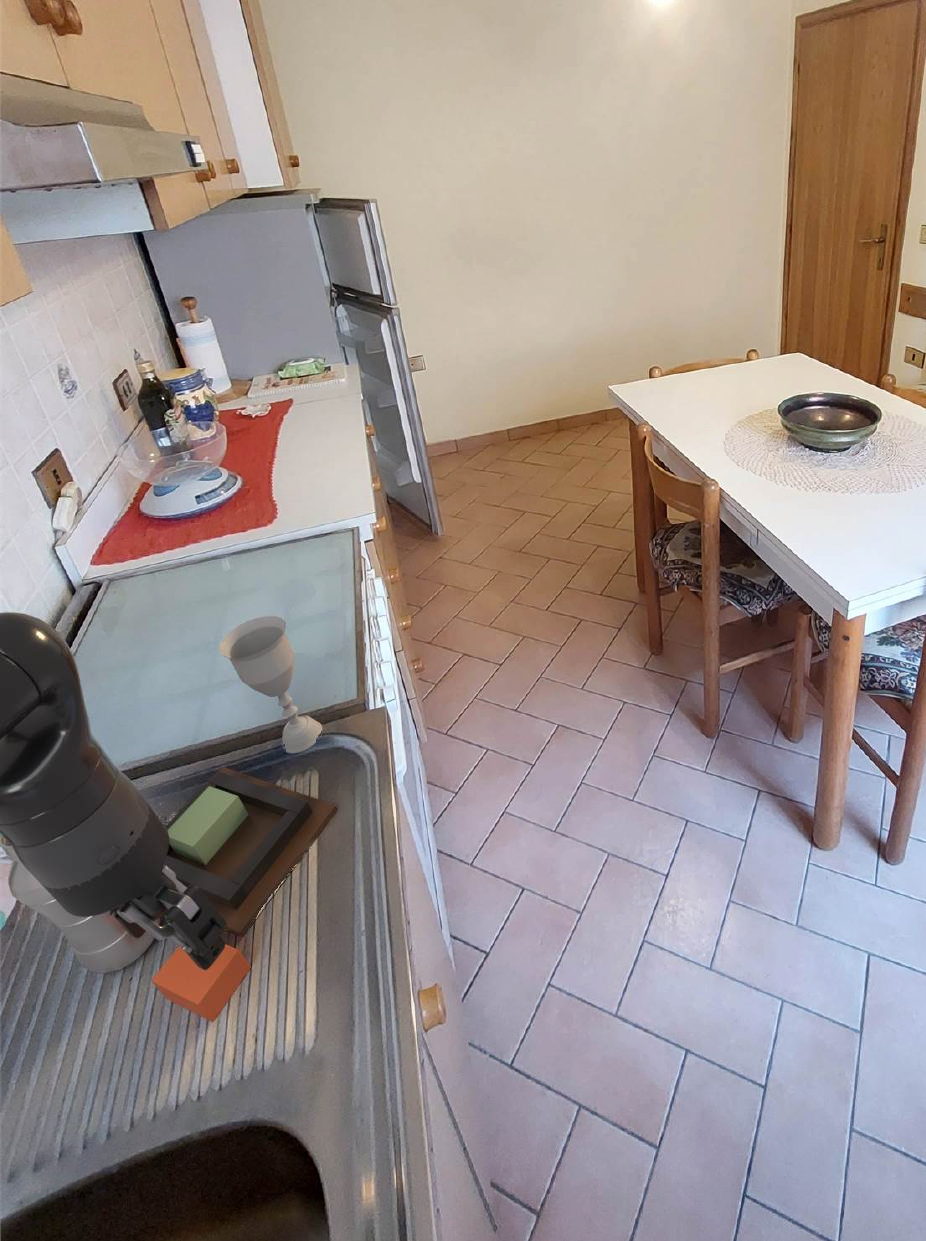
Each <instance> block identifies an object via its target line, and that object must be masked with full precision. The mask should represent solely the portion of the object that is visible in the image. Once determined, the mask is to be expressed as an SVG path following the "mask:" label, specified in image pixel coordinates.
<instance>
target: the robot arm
mask: <svg viewBox="0 0 926 1241" xmlns="http://www.w3.org/2000/svg"><path fill="white" fill-rule="evenodd" d="M103 748H104V747H102V746H101V744H100V743H99V741H98V740H97V739H96V738H95V736H94V735H93V733H92V729H91V724H90V720H89V714H88V710H87V706H86V702H85V698H84V693H83V687H82V682H81V677H80V672H79V669H78V665H77V663H76V658H75V656H74V654H73V652H72V650H71V648H70V646H69V644H68V643H67V641H66V640H65V639H64V637H63V636H62V635H61V634H60V632H58V630H56V629H55V628H54V627H53V626H52V625H50V624H49V623H47V622H45V621H44V620H42V619H40V618H39V617H36V616H33V615H30V614H27V613H23V612H15V611H4V612H0V834H1V835H3V836H4V837H5V838H6V839H7V840H8V842H9V843H10V845H11V846H12V848H13V849H14V851H15V853H16V855H17V857H18V859H19V860H20V862H21V863H22V864H23V865H24V867H25V868H26V869H27V870H28V871H29V872H30V873H31V874H32V875H33V876H34V877H35V878H36V879H37V880H38V882H39V883H40V884H41V885H42V886H43V887H44V888H45V889H46V890H47V891H48V892H49V893H50V894H51V895H52V896H53V897H54V898H55V899H56V900H57V902H58V903H59V904H60V905H61V906H62V907H63V908H64V909H65V910H66V911H67V912H68V913H70V914H72V915H74V916H79V917H90V916H96V915H100V914H103V913H104V914H105V915H106V916H108V917H110V916H111V917H115V918H116V919H117V921H118V922H119V923H120V924H121V925H122V926H123V927H124V929H125V930H126V931H127V932H128V933H129V934H130V935H131V936H133V937H135V938H140V937H141V936H142V935H143V934H144V933H145V932H146V931H147V932H148V933H150V934H151V935H152V936H153V937H155V938H154V939H156V940H157V941H162V940H167V939H170V940H171V941H172V942H173V943H174V944H176V945H177V946H178V947H179V946H180V947H181V950H182V951H184V952H186V953H187V954H188V955H189V956H190V958H191V959H192V960H193V961H194V962H195V964H196V965H197V966H198V967H199V968H201V969H203V970H207V969H209V968H210V967H211V966H212V964H213V963H214V962H215V960H216V959H217V958H218V956H219V955H220V954H221V952H222V951H223V950H224V948H225V944H226V942H225V940H224V939H223V937H222V936H221V935H220V934H222V932H223V931H224V928H225V927H226V925H227V923H226V922H225V919H224V918H222V917H221V915H220V914H219V913H218V911H217V910H216V909H215V908H214V906H213V905H212V904H211V903H210V901H209V900H208V899H207V898H206V896H205V895H204V894H203V893H202V891H201V890H200V888H199V887H198V886H197V885H195V886H194V885H192V884H190V885H189V886H188V888H187V887H185V886H184V885H183V884H182V883H180V882H179V881H178V880H177V879H176V874H175V873H174V872H173V871H172V870H171V869H169V868H168V867H167V866H165V865H164V861H165V858H166V855H167V852H168V848H169V834H168V831H167V829H166V828H165V826H166V825H164V824H163V822H162V821H161V819H160V818H159V816H157V814H156V813H155V811H154V810H153V809H152V806H150V804H149V803H148V802H147V800H146V799H145V797H144V796H143V795H142V793H141V792H140V790H139V789H138V787H137V786H136V785H135V784H134V782H133V781H132V780H131V779H130V778H129V776H127V775H126V774H124V772H122V770H120V769H119V768H118V767H117V766H116V765H115V764H114V762H113V761H112V759H111V757H109V755H108V754H107V752H106V751H105V749H103ZM115 914H116V915H115ZM162 916H163V917H164V919H165V923H164V924H163V925H162V926H160V925H157V924H156V923H155V922H154V921H155V920H157V919H159V918H160V917H162ZM160 919H161V918H160Z"/></svg>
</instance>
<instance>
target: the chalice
mask: <svg viewBox="0 0 926 1241" xmlns="http://www.w3.org/2000/svg"><path fill="white" fill-rule="evenodd" d="M286 628H287V625H286V621H285V619H283V618H282V617H279V616H277V615H265V616H264V615H263V616H259V617H256V618H253V619H250V620H247V621H245V622H243V623H241V624H239V625H237V626H235V627H234V628H233V629H232V630H230V631H229V632H228V633H227V634H226V635H225V636H224V637H223V638H222V640H221V641H220V644H219V646H218V647H219V653H220V654H221V656H223V657H224V658H227V659H229V661H230V662H231V664H232V666H233V668H234V670H235V672H236V673H237V675H238V678H239V680H241V682H242V683H243V684H244V685H246V686H248V687H249V688H250V689H252V690H254V691H256V692H258V693H261V694H262V695H265V696H267V697H269V698H277V699H278V702H277V705H278V707H282V708H283V711H282V714H281V716H282V717H283V718H287V719H288V720H289V721H288V722H287V723H286V724H285V725H284V728H283V730H282V736H281V739H282V741H283V744H285V748H286V753H288V754H297V753H302V752H304V751H306V750H308V749H309V748H311V747H312V746H314V745H315V744H316V743H317V742H316V738H317V737H318V735H319V734H320V733H321V731H322V732H323V725H322V724H321V723H320V722H319V721H317V720H315V719H314V718H312V717H311V716H309V715H297V711H298V706H296V705H292V701H293V697H292V696H289V695H288V694H287V693H286V692H288V690H289V689H290V688H291V686H292V680H293V677H294V676H293V675H294V672H295V652H294V650H293V648H292V646H291V643H290V642H289V639H288V637H287V635H286V633H285V632H286ZM282 741H281V742H282Z"/></svg>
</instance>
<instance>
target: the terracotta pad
mask: <svg viewBox="0 0 926 1241" xmlns="http://www.w3.org/2000/svg"><path fill="white" fill-rule="evenodd" d="M250 968H251V969H252V967H251V966H250V964H249V963H248V961H247V960H246V959H245V957H244V956H243V955H242V953H241V952H240V951H239V949H237V948H235V947H233V946H230V945H229V944H227V943H225V948H224V950H223V951H222V952H221V954H220V955H219V956H218V958H217V959H216V960H215V962H214V963H213V964H212V966H211V967H210V968H209V969H207V970H203V969H201V968H199V967H198V966H197V965H196V964H195V962H194V961H193V960H192V959H191V958H190V956H189V955H188V954H187V953H186V952H184V951H182V950H181V947H180V946H179V945H178V947H177V948H176V949H175V950H174V952H173V953H172V954H171V955H170V956H169V957H168V958H167V960H166V962H165V963H164V964H163V965H162V966H161V968H160V969H159V970H158V971H157V973H156V974H155V975H154V976H153V977H152V979H151V981H150V982H151V983H152V984H153V986H154V987H155V988H156V989H157V990H158V991H159V992H160V993H161V994H162V995H163V997H164V998H165V999H167V1001H170V1002H172V1003H174V1004H176V1005H178V1006H179V1007H182V1008H184V1009H185V1010H188V1011H190V1012H192V1013H194V1014H195V1015H198V1016H199V1017H200V1018H204V1019H205V1020H207V1021H209V1022H210V1023H211V1022H212V1023H213V1022H214V1021H215V1020H216V1018H217V1017H218V1016H219V1014H220V1013H221V1012H222V1010H223V1008H224V1007H225V1006H226V1004H227V1003H228V1001H229V1000H230V999H231V997H232V996H233V994H234V993H235V992H236V990H237V989H238V988H239V986H240V985H241V983H242V982H243V980H244V979H243V977H244V976H245V975H246V974H247V975H248V973H249V972H250V971H251V969H250ZM248 971H249V972H248ZM247 975H246V976H247ZM246 976H245V977H246ZM245 977H244V978H245ZM242 979H243V980H242ZM241 981H242V982H241ZM240 982H241V983H240ZM234 991H235V992H234Z"/></svg>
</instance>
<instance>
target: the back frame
mask: <svg viewBox="0 0 926 1241" xmlns="http://www.w3.org/2000/svg"><path fill="white" fill-rule="evenodd" d="M209 786H210V787H213V788H216V789H219V790H222V791H225V792H227V793H230V794H233V795H236V796H238V797H239V799H240V801H241V802H242V804H243V806H244V807H245V809H246V811H247V812H248V814H249V815H248V816H247V817H246V818H245V819H244V821H243V822H242V823H241V824H240V825H239V827H238V828H237V829H236V830H235V831H234V832H233V834H232V835H231V836H230V837H229V838H228V839H227V841H226V842H225V843H224V844H223V845H222V846H221V848H220V849H219V850H218V851H217V852H216V854H215V855H214V856H213V857H212V858H211V859H210V861H209V862H208V863H207V864H206V865H204V864H202V863H199V862H197V861H194V860H192V859H189V858H187V857H184V856H182V855H179V854H177V853H176V852H175V851H174V849H173V848H172V847H171V845H170V844H169V848H168V852H167V855H166V858H165V861H164V865H165V866H167V867H168V868H169V869H171V870H172V871H173V872H174V873H175V874H176V879H177V880H178V881H179V882H180V883H182V884H183V885H184V886H185V887H187V888H188V886H189V885H190V884H192V885H194V886H195V885H197V886H198V887H199V888H200V890H201V891H202V893H203V894H204V895H205V896H206V898H207V899H208V900H209V901H210V903H211V904H212V905H213V906H214V908H215V909H216V910H217V911H218V913H219V914H220V915H221V917H222V918H224V919H225V922H226V923H227V925H226V927H225V928H224V929H226V930H225V931H227V930H229V931H230V932H229V931H228V932H229V933H231V932H233V933H235V934H234V935H235V936H238V937H240V938H244V937H245V936H246V935H247V933H248V932H247V931H249V930H250V929H249V927H250V926H251V925H252V923H253V921H254V920H255V918H256V917H257V915H258V913H259V911H260V910H261V908H262V907H263V905H264V904H265V903H266V902H267V900H268V898H269V897H270V896H271V894H273V892H274V891H275V890H276V889H277V888H278V886H279V885H280V884H281V882H282V881H283V880H284V879H285V878H286V877H287V875H288V874H289V873H290V872H291V870H292V868H294V866H295V865H296V864H297V863H298V862H299V863H300V862H301V860H302V859H301V858H303V857H304V856H305V855H304V853H305V852H306V851H307V850H309V849H310V848H311V847H312V846H313V844H314V843H315V841H316V840H317V839H318V837H319V836H320V835H321V833H322V832H323V830H324V829H325V828H326V827H327V825H328V824H329V822H330V821H331V820H332V819H333V817H334V816H335V814H336V813H337V812H338V807H337V805H336V804H335V803H331V802H328V801H325V800H323V799H320V798H316V797H312V796H310V795H308V794H304V793H301V792H298V791H295V790H293V789H289V788H287V787H283V786H281V785H279V784H278V785H277V784H274V783H271V782H269V781H266V780H263V779H260V778H256V777H254V776H251V775H248V774H245V773H242V772H239V771H236V770H233V769H229V768H227V767H223V766H221V767H220V768H219V770H217V771H215V773H214V774H213V775H212V776H211V777H210V778H209V780H207V782H206V783H205V784H204V785H203V786H202V787H201V788H200V789H199V790H198V791H197V792H196V793H195V795H193V796H192V798H191V799H190V800H189V801H188V802H187V803H186V804H185V805H184V806H183V807H182V808H181V809H180V810H179V811H178V813H176V814H175V815H174V816H173V818H172V819H171V820H169V821H168V823H167V824H165V825H164V826H165V828H166V829H167V830H168V829H169V828H170V827H171V826H172V825H173V824H174V823H175V822H176V821H177V820H178V819H179V818H180V817H181V816H182V814H183V813H184V812H185V811H186V810H187V809H188V808H189V807H190V806H191V805H192V804H193V803H194V802H195V801H196V800H197V798H198V797H199V796H200V795H201V794H202V793H203V792H204V791H205V790H206V789H207V788H208V787H209ZM310 846H311V847H310ZM309 847H310V848H309ZM307 852H308V851H307ZM307 852H306V853H307ZM306 853H305V854H306ZM303 855H304V856H303ZM302 856H303V857H302ZM300 859H301V860H300ZM299 863H298V864H299ZM298 864H297V865H298ZM294 869H295V868H294ZM291 873H292V872H291ZM253 924H254V923H253ZM252 926H253V925H252ZM252 926H251V927H252ZM251 927H250V928H251ZM224 929H223V930H224ZM248 929H249V930H248ZM246 932H247V933H246ZM233 933H232V934H233ZM244 935H245V936H244ZM243 936H244V937H243Z"/></svg>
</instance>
